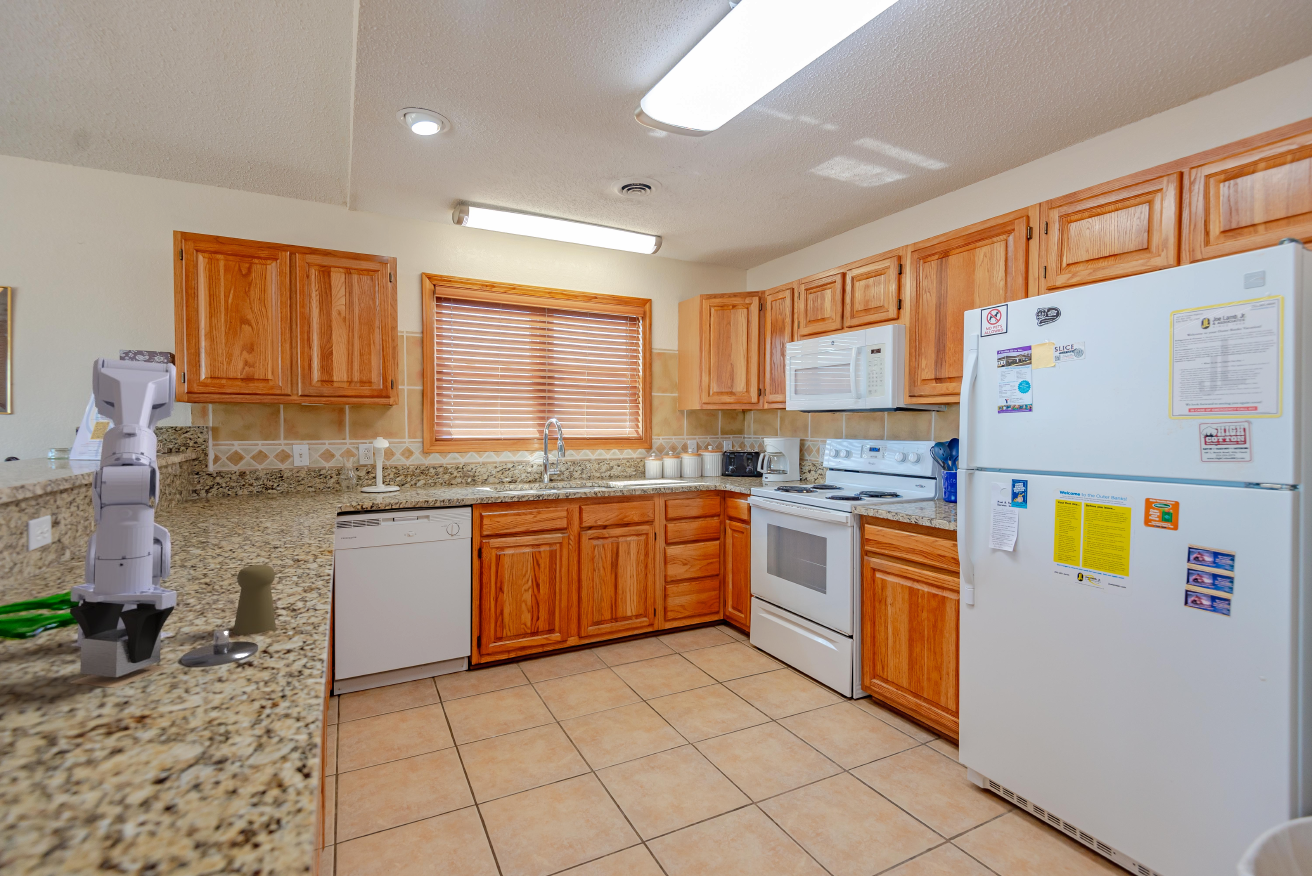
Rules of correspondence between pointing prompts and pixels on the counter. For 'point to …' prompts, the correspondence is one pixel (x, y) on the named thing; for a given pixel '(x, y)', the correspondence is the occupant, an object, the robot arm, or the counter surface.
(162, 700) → the counter surface
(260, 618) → the cork
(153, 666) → the stand
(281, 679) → the counter surface
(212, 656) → the hub
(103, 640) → the square metal tube
